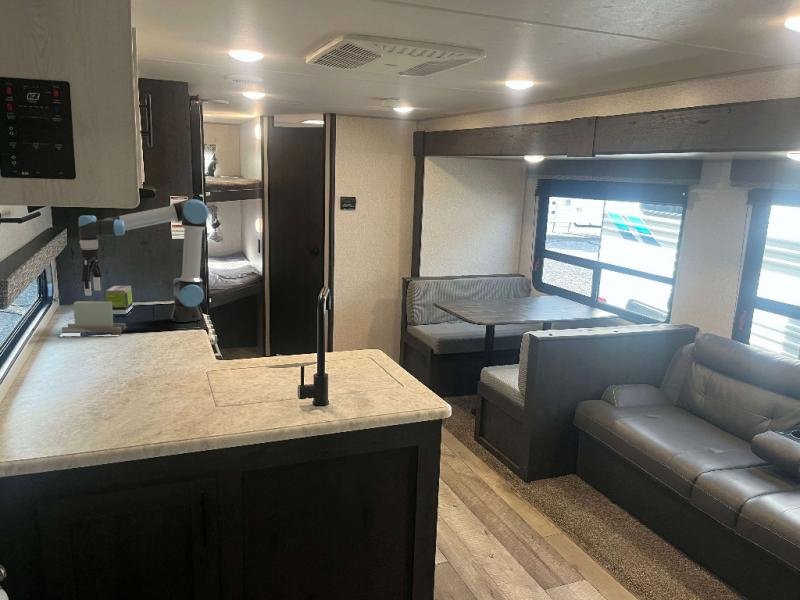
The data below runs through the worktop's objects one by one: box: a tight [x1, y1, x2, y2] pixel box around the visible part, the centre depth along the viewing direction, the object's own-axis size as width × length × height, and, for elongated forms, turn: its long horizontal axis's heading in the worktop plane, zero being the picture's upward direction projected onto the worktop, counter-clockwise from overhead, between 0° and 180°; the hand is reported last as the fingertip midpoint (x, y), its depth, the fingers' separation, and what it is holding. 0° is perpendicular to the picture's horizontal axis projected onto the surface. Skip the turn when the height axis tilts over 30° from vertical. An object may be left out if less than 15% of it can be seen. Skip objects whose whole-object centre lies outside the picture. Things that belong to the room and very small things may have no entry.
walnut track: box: [61, 322, 127, 335], centre depth 294 cm, size 18×26×4 cm
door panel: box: [73, 300, 114, 327], centre depth 293 cm, size 4×16×14 cm, turn 100°
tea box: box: [105, 285, 134, 314], centre depth 337 cm, size 15×10×15 cm, turn 10°
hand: (93, 293), depth 291 cm, fingers open, 13 cm apart
